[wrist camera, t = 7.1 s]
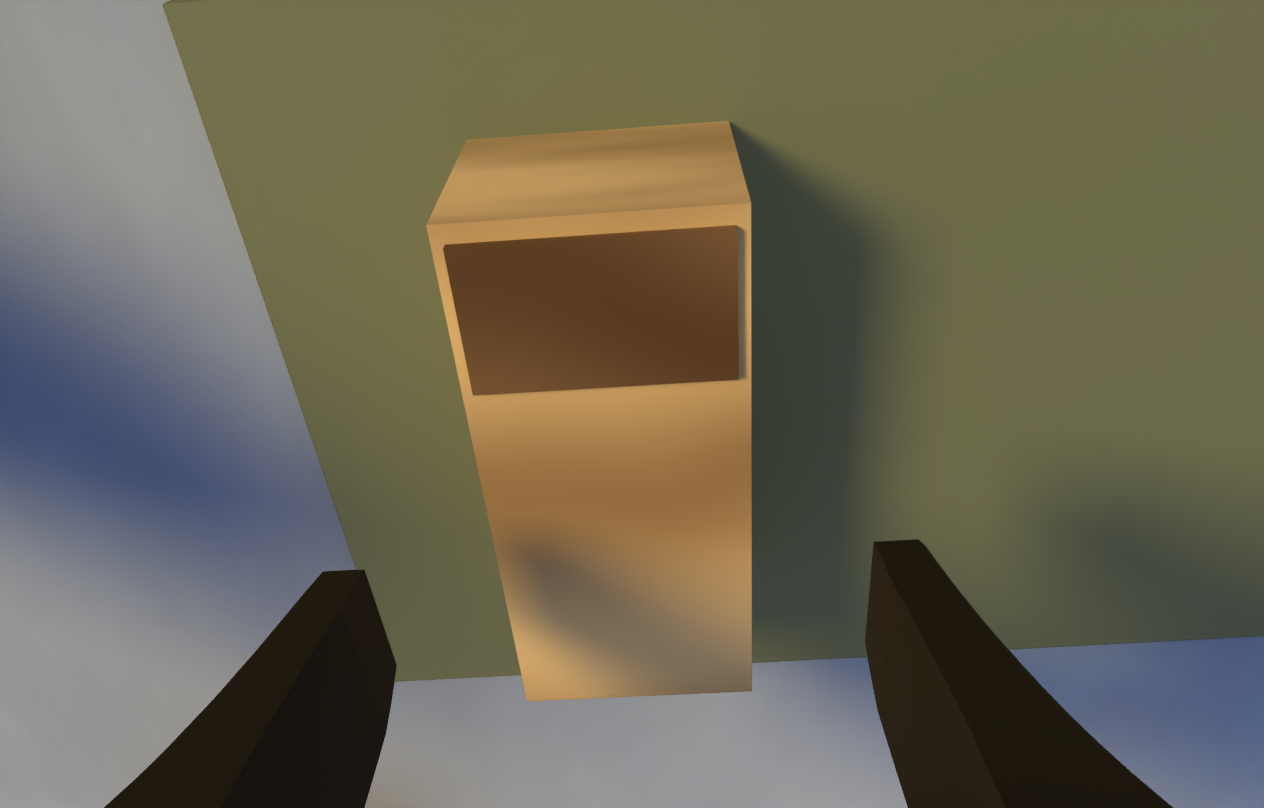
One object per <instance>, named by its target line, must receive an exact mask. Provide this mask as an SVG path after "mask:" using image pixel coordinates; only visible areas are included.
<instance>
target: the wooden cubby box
mask: <svg viewBox="0 0 1264 808" xmlns="http://www.w3.org/2000/svg"><path fill="white" fill-rule="evenodd" d="M426 227H427V232H428V236H429V241H430V246H431V251H432V255H433V260H434V265H435V269H436V274H437V279H438V284H439V288H440V293H441V298H442V302H443V307H444V312H445V317H446V321H447V326H448V331H449V335H450V340H451V345H452V350H453V354H454V359H455V364H456V369H457V373H458V378H459V383H460V387H461V392H462V397H463V402H464V406H465V411H466V416H467V420H468V425H469V430H470V435H471V439H472V444H473V449H474V453H475V458H476V463H477V468H478V472H479V477H480V482H481V486H482V491H483V496H484V501H485V505H486V510H487V515H488V519H489V524H490V529H491V534H492V538H493V543H494V548H495V552H496V557H497V562H498V567H499V571H500V576H501V581H502V586H503V590H504V595H505V600H506V604H507V609H508V614H509V619H510V623H511V628H512V633H513V637H514V642H515V647H516V652H517V656H518V661H519V666H520V670H521V675H522V680H523V685H524V689H525V694H526V699H527V701H543V700H565V699H587V698H609V697H632V696H654V695H676V694H699V693H721V692H743V691H752V472H751V200H750V197H749V193H748V189H747V186H746V182H745V179H744V175H743V171H742V168H741V164H740V160H739V157H738V153H737V149H736V146H735V142H734V138H733V135H732V131H731V127H730V124H729V121H719V122H705V123H692V124H678V125H664V126H650V127H636V128H622V129H608V130H595V131H581V132H567V133H553V134H539V135H525V136H511V137H498V138H484V139H470V140H466V142H465V144H464V146H463V148H462V150H461V153H460V155H459V157H458V159H457V161H456V163H455V165H454V167H453V169H452V172H451V174H450V176H449V178H448V180H447V182H446V184H445V186H444V188H443V191H442V193H441V195H440V197H439V199H438V201H437V203H436V205H435V207H434V210H433V212H432V214H431V216H430V218H429V220H428V222H427V224H426Z"/></svg>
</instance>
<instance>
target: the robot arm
mask: <svg viewBox="0 0 1264 808" xmlns="http://www.w3.org/2000/svg"><path fill="white" fill-rule="evenodd" d="M865 646H866V651H867V657H868V662H869V668H870V673H871V678H872V684H873V689H874V694H875V699H876V704H877V709H878V713H879V716H880V720H881V723H882V726H883V729H884V733H885V736H886V739H887V742H888V746H889V749H890V752H891V755H892V758H893V762H894V765H895V768H896V771H897V774H898V778H899V781H900V784H901V787H902V790H903V793H904V797H905V800H906V803H907V806H908V808H1173V807H1172V806H1170V805H1169V804H1168V803H1167V802H1166V801H1165V800H1163V799H1162V798H1161V797H1160V796H1159V795H1157V794H1156V793H1155V792H1154V791H1153V790H1152V789H1150V788H1149V787H1148V786H1147V785H1146V784H1144V783H1143V782H1142V781H1141V780H1140V779H1139V778H1137V777H1136V776H1135V775H1134V774H1133V773H1132V772H1130V771H1129V770H1128V769H1127V768H1126V767H1125V766H1124V765H1123V764H1122V763H1120V762H1119V761H1118V760H1117V759H1116V758H1115V757H1114V756H1113V755H1112V754H1110V753H1109V752H1108V751H1107V750H1106V749H1105V748H1104V747H1103V746H1102V745H1101V744H1099V743H1098V742H1097V741H1096V740H1095V739H1094V738H1093V737H1092V736H1091V735H1090V734H1089V733H1088V732H1087V731H1086V730H1085V729H1084V728H1083V727H1082V726H1081V725H1080V724H1079V723H1078V722H1077V721H1075V720H1074V719H1073V718H1072V717H1071V716H1070V715H1069V714H1068V713H1067V712H1066V711H1065V710H1064V709H1063V707H1062V706H1061V705H1060V704H1059V703H1058V702H1057V701H1056V700H1055V699H1054V698H1053V697H1052V696H1051V695H1050V694H1049V693H1048V692H1047V691H1046V690H1045V689H1044V688H1043V687H1042V686H1041V685H1040V684H1039V683H1038V682H1037V681H1036V679H1035V678H1034V677H1033V676H1032V675H1031V674H1030V673H1029V672H1028V671H1027V670H1026V669H1025V668H1024V667H1023V665H1022V664H1021V663H1020V662H1019V661H1018V660H1017V659H1016V657H1015V656H1014V655H1013V654H1012V653H1011V652H1010V651H1009V650H1008V648H1007V647H1006V646H1005V645H1004V644H1003V643H1002V642H1001V640H1000V639H999V638H998V637H997V636H996V635H995V634H994V632H993V631H992V630H991V629H990V628H989V627H988V625H987V624H986V623H985V622H984V621H983V619H982V618H981V617H980V616H979V615H978V613H977V612H976V611H975V610H974V608H973V607H972V606H971V605H970V603H969V602H968V601H967V600H966V598H965V597H964V596H963V595H962V593H961V592H960V591H959V590H958V588H957V587H956V586H955V585H954V583H953V582H952V581H951V579H950V578H949V577H948V575H947V574H946V573H945V571H944V570H943V569H942V567H941V566H940V565H939V563H938V562H937V561H936V559H935V558H934V557H933V555H932V554H931V553H930V551H929V550H928V548H927V547H926V546H925V545H924V544H923V543H922V542H921V541H920V540H918V539H915V540H896V541H878V542H874V543H873V554H872V566H871V578H870V589H869V601H868V612H867V624H866V635H865ZM396 668H397V664H396V661H395V658H394V655H393V652H392V649H391V646H390V644H389V641H388V638H387V635H386V632H385V629H384V626H383V623H382V620H381V617H380V614H379V611H378V608H377V605H376V602H375V599H374V596H373V593H372V590H371V587H370V584H369V581H368V578H367V575H366V572H365V570H345V571H327V572H322V573H321V575H320V576H319V577H318V578H317V579H316V580H315V581H314V582H313V584H312V585H311V586H310V587H309V588H308V589H307V591H306V592H305V593H304V594H303V595H302V597H301V598H300V599H299V600H298V601H297V603H296V604H295V605H294V606H293V607H292V609H291V610H290V611H289V612H288V613H287V615H286V616H285V617H284V618H283V619H282V621H281V622H280V623H279V624H278V625H277V627H276V628H275V629H274V630H273V631H272V632H271V634H270V635H269V636H268V637H267V638H266V640H265V641H264V642H263V643H262V644H261V646H260V647H259V648H258V649H257V650H256V651H255V653H254V654H253V655H252V656H251V657H250V658H249V659H248V661H247V662H246V663H245V664H244V665H243V666H242V667H241V669H240V670H239V671H238V672H237V673H236V674H235V675H234V677H233V678H232V679H231V680H230V681H229V682H228V683H227V685H226V686H225V687H224V688H223V689H222V690H221V691H220V693H219V694H218V695H217V696H216V697H215V698H214V699H213V700H212V701H211V703H210V704H209V705H208V706H207V707H206V708H205V709H204V710H203V711H202V712H201V713H200V714H199V715H198V716H197V717H196V718H195V719H194V720H193V722H192V723H191V724H190V725H189V726H188V727H187V728H186V729H185V730H184V731H183V732H182V733H181V734H180V735H179V736H178V737H177V738H176V739H175V740H174V742H173V743H172V744H171V745H170V746H169V747H168V748H167V749H166V750H165V751H164V752H163V753H162V754H161V755H160V756H159V757H158V758H157V759H156V760H155V761H154V762H153V763H152V764H151V765H150V766H149V767H148V768H147V769H146V770H145V771H143V772H142V773H141V774H140V775H139V776H138V777H137V778H136V779H135V780H134V781H133V782H132V783H131V784H130V785H128V786H127V787H126V788H125V789H124V790H123V791H122V792H121V793H120V794H119V795H117V796H116V797H115V798H114V799H113V800H112V801H111V802H110V803H109V804H108V805H106V806H105V807H104V808H364V807H365V803H366V800H367V797H368V793H369V790H370V787H371V783H372V780H373V776H374V773H375V769H376V766H377V763H378V759H379V756H380V752H381V749H382V745H383V742H384V738H385V734H386V729H387V724H388V718H389V713H390V707H391V701H392V694H393V688H394V681H395V675H396Z"/></svg>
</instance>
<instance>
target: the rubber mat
mask: <svg viewBox="0 0 1264 808" xmlns="http://www.w3.org/2000/svg"><path fill="white" fill-rule="evenodd" d="M162 5H163V8H164V11H165V14H166V17H167V19H168V22H169V25H170V28H171V31H172V34H173V37H174V40H175V43H176V46H177V49H178V51H179V54H180V57H181V60H182V63H183V66H184V69H185V72H186V75H187V78H188V81H189V83H190V86H191V89H192V92H193V95H194V98H195V101H196V104H197V107H198V110H199V113H200V115H201V118H202V121H203V124H204V127H205V130H206V133H207V136H208V139H209V142H210V145H211V147H212V150H213V153H214V156H215V159H216V162H217V165H218V168H219V171H220V174H221V177H222V179H223V182H224V185H225V188H226V191H227V194H228V197H229V200H230V203H231V206H232V209H233V211H234V214H235V217H236V220H237V223H238V226H239V229H240V232H241V235H242V238H243V241H244V243H245V246H246V249H247V252H248V255H249V258H250V261H251V264H252V267H253V270H254V273H255V275H256V278H257V281H258V284H259V287H260V290H261V293H262V296H263V299H264V302H265V305H266V308H267V310H268V313H269V316H270V319H271V322H272V325H273V328H274V331H275V334H276V337H277V340H278V342H279V345H280V348H281V351H282V354H283V357H284V360H285V363H286V366H287V369H288V372H289V374H290V377H291V380H292V383H293V386H294V389H295V392H296V395H297V398H298V401H299V404H300V406H301V409H302V412H303V415H304V418H305V421H306V424H307V427H308V430H309V433H310V436H311V438H312V441H313V444H314V447H315V450H316V453H317V456H318V459H319V462H320V465H321V468H322V470H323V473H324V476H325V479H326V482H327V485H328V488H329V491H330V494H331V497H332V500H333V502H334V505H335V508H336V511H337V514H338V517H339V520H340V523H341V526H342V529H343V532H344V534H345V537H346V540H347V543H348V546H349V549H350V552H351V555H352V558H353V561H354V564H355V566H356V569H357V570H365V572H366V575H367V578H368V581H369V584H370V587H371V590H372V593H373V596H374V599H375V602H376V605H377V608H378V611H379V614H380V617H381V620H382V623H383V626H384V629H385V632H386V635H387V638H388V641H389V644H390V646H391V649H392V652H393V655H394V658H395V661H396V664H397V668H396V675H395V682H396V681H415V680H434V679H453V678H472V677H491V676H511V675H521V670H520V666H519V661H518V656H517V652H516V647H515V642H514V637H513V633H512V628H511V623H510V619H509V614H508V609H507V604H506V600H505V595H504V590H503V586H502V581H501V576H500V571H499V567H498V562H497V557H496V552H495V548H494V543H493V538H492V534H491V529H490V524H489V519H488V515H487V510H486V505H485V501H484V496H483V491H482V486H481V482H480V477H479V472H478V468H477V463H476V458H475V453H474V449H473V444H472V439H471V435H470V430H469V425H468V420H467V416H466V411H465V406H464V402H463V397H462V392H461V387H460V383H459V378H458V373H457V369H456V364H455V359H454V354H453V350H452V345H451V340H450V335H449V331H448V326H447V321H446V317H445V312H444V307H443V302H442V298H441V293H440V288H439V284H438V279H437V274H436V269H435V265H434V260H433V255H432V251H431V246H430V241H429V236H428V232H427V227H426V224H427V222H428V220H429V218H430V216H431V214H432V212H433V210H434V207H435V205H436V203H437V201H438V199H439V197H440V195H441V193H442V191H443V188H444V186H445V184H446V182H447V180H448V178H449V176H450V174H451V172H452V169H453V167H454V165H455V163H456V161H457V159H458V157H459V155H460V153H461V150H462V148H463V146H464V144H465V142H466V140H470V139H484V138H498V137H511V136H525V135H539V134H553V133H567V132H581V131H595V130H608V129H622V128H636V127H650V126H664V125H678V124H692V123H705V122H719V121H729V124H730V127H731V131H732V135H733V138H734V142H735V146H736V149H737V153H738V157H739V160H740V164H741V168H742V171H743V175H744V179H745V182H746V186H747V189H748V193H749V197H750V200H751V472H752V663H759V662H778V661H797V660H816V659H835V658H854V657H867V651H866V646H865V635H866V624H867V612H868V601H869V589H870V578H871V566H872V554H873V543H874V542H878V541H896V540H915V539H918V540H920V541H921V542H922V543H923V544H924V545H925V546H926V547H927V548H928V550H929V551H930V553H931V554H932V555H933V557H934V558H935V559H936V561H937V562H938V563H939V565H940V566H941V567H942V569H943V570H944V571H945V573H946V574H947V575H948V577H949V578H950V579H951V581H952V582H953V583H954V585H955V586H956V587H957V588H958V590H959V591H960V592H961V593H962V595H963V596H964V597H965V598H966V600H967V601H968V602H969V603H970V605H971V606H972V607H973V608H974V610H975V611H976V612H977V613H978V615H979V616H980V617H981V618H982V619H983V621H984V622H985V623H986V624H987V625H988V627H989V628H990V629H991V630H992V631H993V632H994V634H995V635H996V636H997V637H998V638H999V639H1000V640H1001V642H1002V643H1003V644H1004V645H1005V646H1006V647H1007V648H1008V649H1026V648H1045V647H1064V646H1084V645H1103V644H1122V643H1141V642H1160V641H1179V640H1198V639H1217V638H1236V637H1255V636H1264V0H170V1H168V2H166V3H164V4H162Z"/></svg>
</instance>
